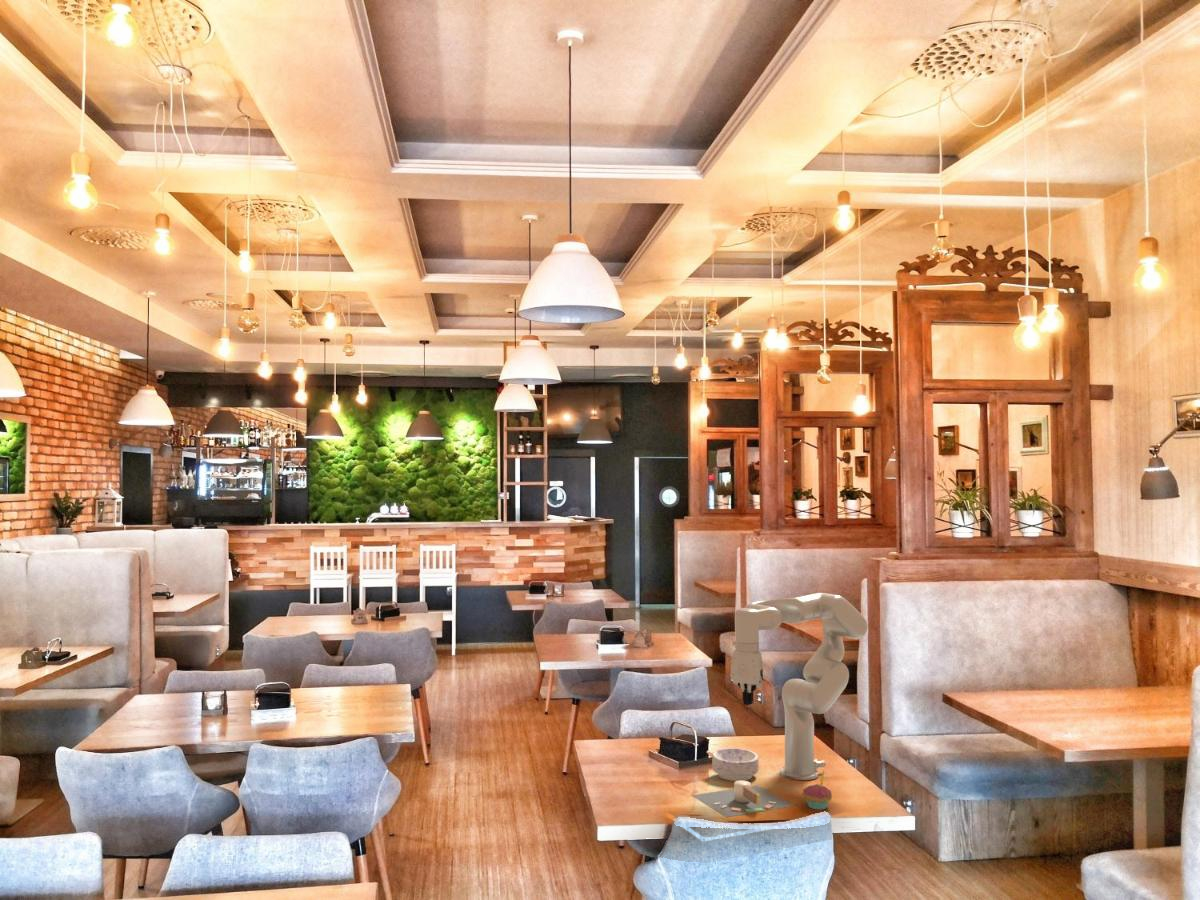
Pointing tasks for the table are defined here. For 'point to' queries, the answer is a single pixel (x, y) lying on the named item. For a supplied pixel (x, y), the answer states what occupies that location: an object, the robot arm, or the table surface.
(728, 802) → the board
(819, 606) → the robot arm
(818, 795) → the cupcake
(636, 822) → the table surface
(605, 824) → the table surface
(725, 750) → the light grey bowl
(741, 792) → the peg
